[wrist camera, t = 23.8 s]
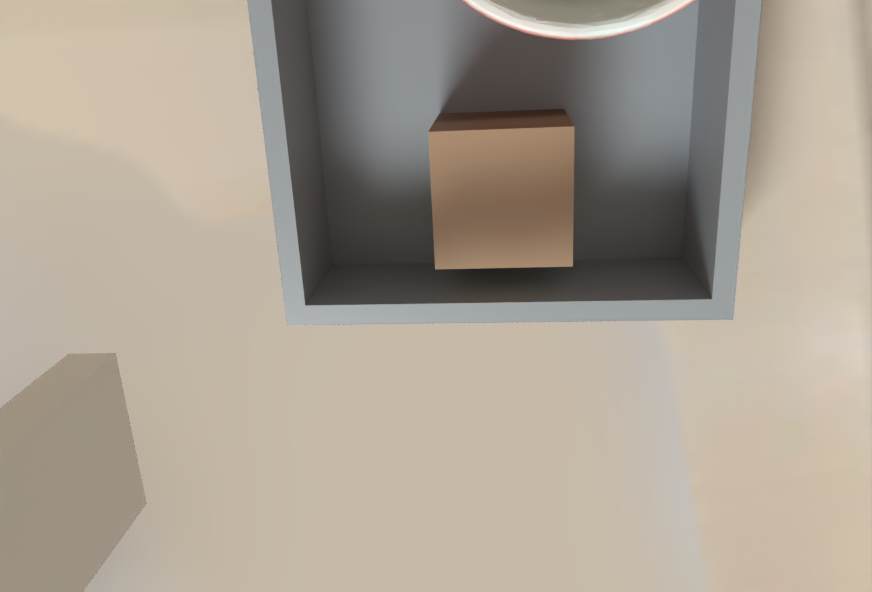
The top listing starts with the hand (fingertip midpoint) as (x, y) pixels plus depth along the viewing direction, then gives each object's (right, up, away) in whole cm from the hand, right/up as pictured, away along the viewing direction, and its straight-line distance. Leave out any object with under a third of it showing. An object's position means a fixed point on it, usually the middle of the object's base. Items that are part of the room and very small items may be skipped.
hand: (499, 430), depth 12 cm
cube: (+2, +7, +20) cm, 22 cm away
